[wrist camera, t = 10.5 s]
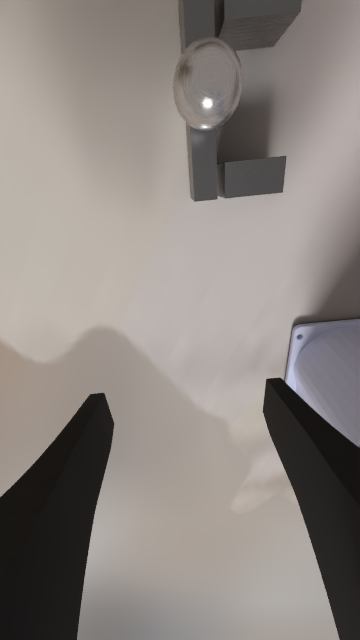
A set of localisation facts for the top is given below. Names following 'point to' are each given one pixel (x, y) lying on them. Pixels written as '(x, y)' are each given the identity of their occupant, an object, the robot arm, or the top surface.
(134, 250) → the top surface
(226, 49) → the stud bracket
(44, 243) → the top surface
